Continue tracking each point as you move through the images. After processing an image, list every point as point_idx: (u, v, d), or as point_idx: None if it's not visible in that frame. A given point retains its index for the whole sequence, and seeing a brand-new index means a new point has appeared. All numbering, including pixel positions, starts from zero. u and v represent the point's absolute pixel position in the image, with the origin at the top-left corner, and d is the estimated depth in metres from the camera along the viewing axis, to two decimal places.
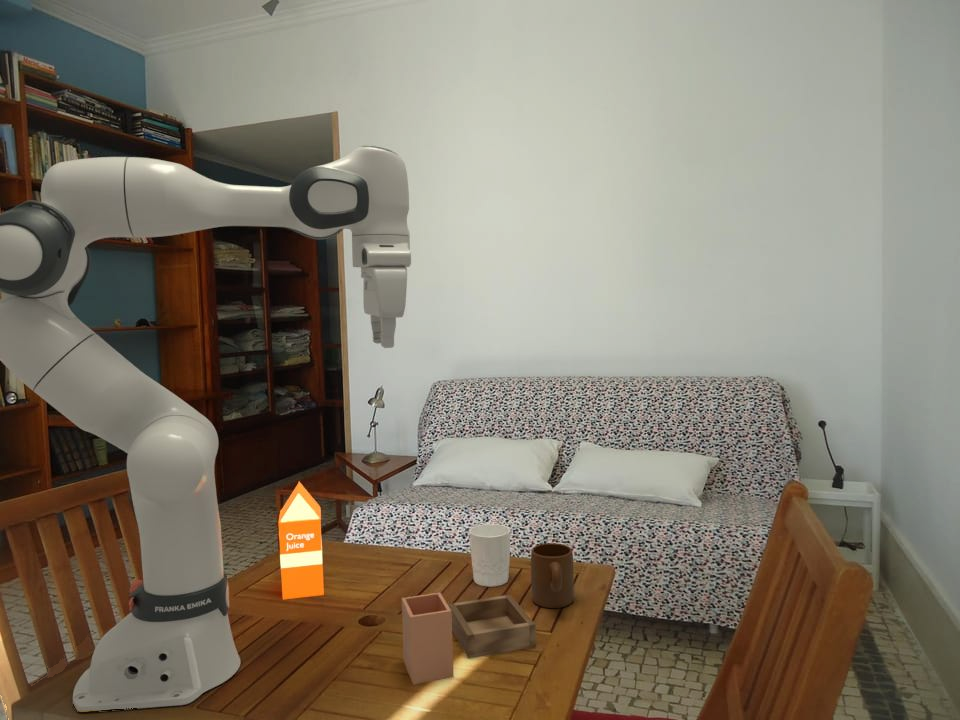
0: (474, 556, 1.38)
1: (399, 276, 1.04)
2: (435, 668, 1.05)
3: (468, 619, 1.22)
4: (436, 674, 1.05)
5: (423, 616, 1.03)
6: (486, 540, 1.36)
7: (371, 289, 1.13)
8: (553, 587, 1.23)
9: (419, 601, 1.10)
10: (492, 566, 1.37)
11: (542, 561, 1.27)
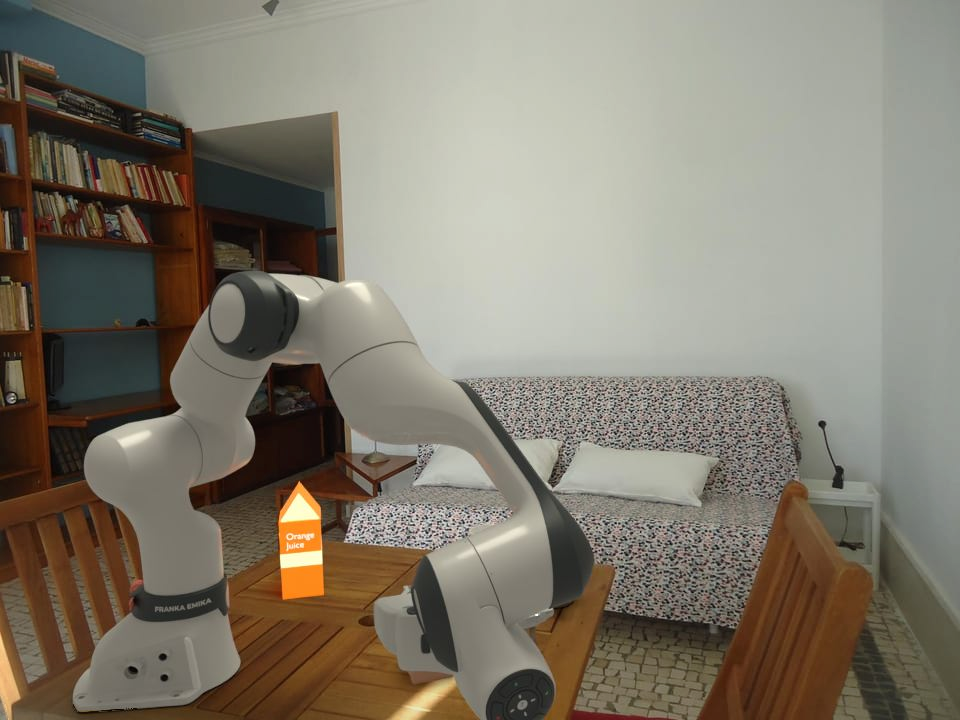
0: None
1: (386, 642, 0.82)
2: None
3: None
4: (436, 674, 1.05)
5: None
6: None
7: None
8: None
9: None
10: None
11: None
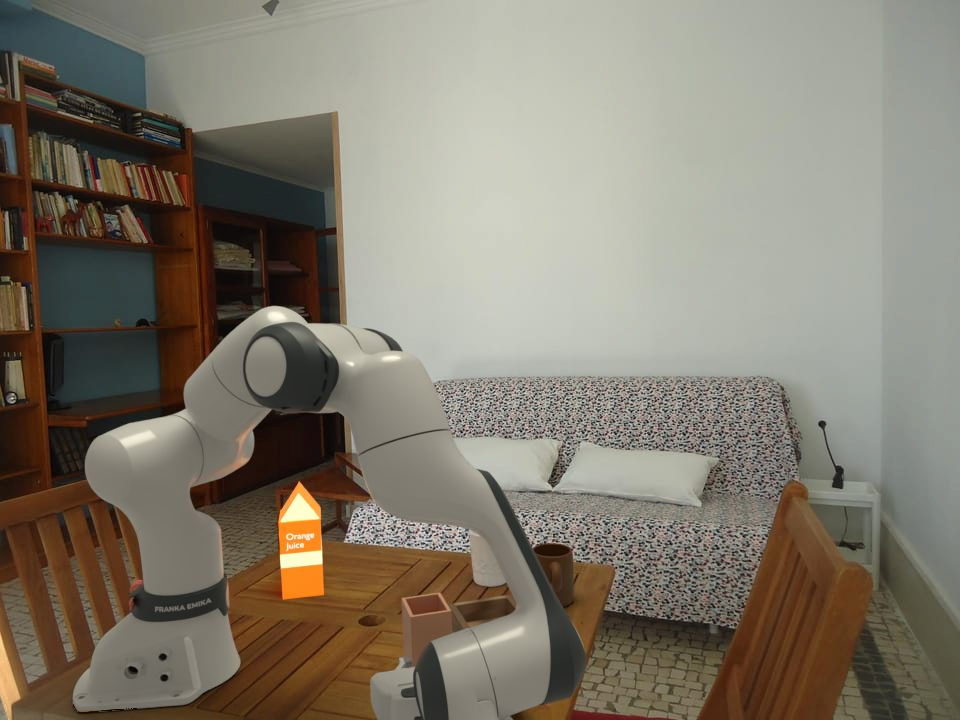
0: (474, 556, 1.38)
1: None
2: None
3: (468, 619, 1.22)
4: None
5: (423, 616, 1.03)
6: None
7: None
8: (553, 587, 1.23)
9: (419, 601, 1.10)
10: (492, 566, 1.37)
11: (542, 561, 1.27)
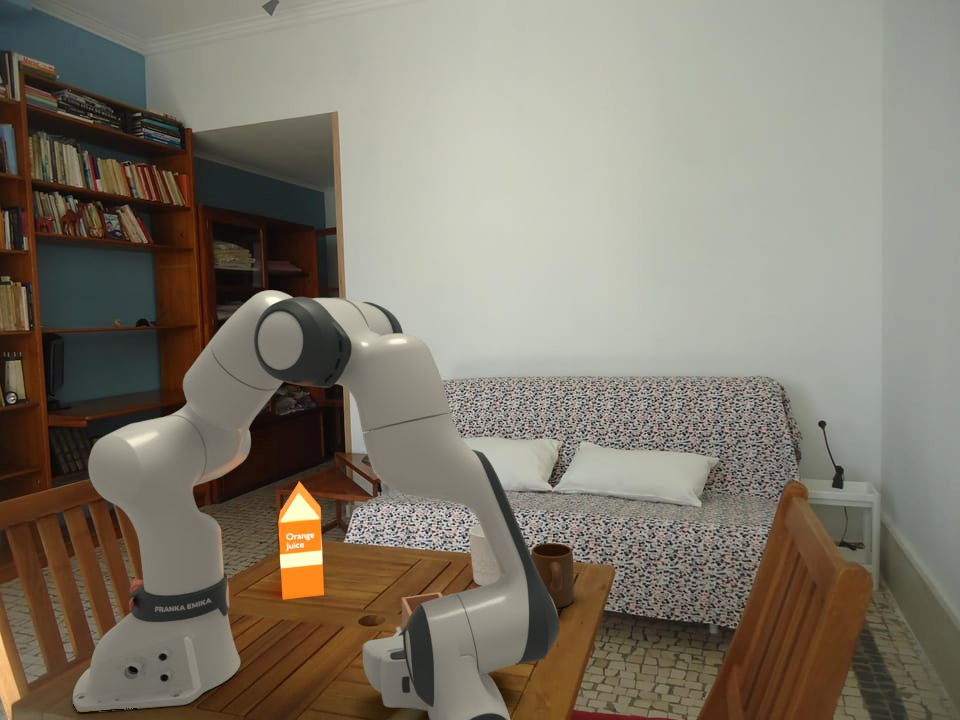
0: (474, 556, 1.38)
1: (373, 681, 0.96)
2: None
3: None
4: None
5: None
6: (486, 540, 1.36)
7: None
8: (553, 587, 1.23)
9: (419, 600, 1.10)
10: (492, 566, 1.37)
11: (542, 561, 1.27)
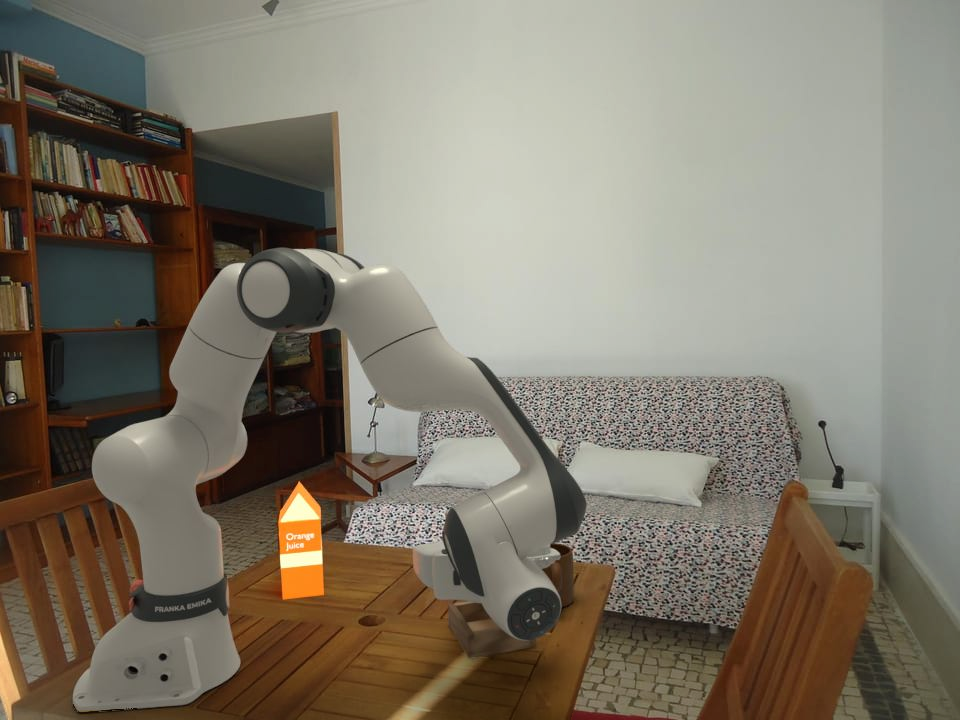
0: None
1: (424, 578, 1.01)
2: None
3: (468, 619, 1.22)
4: None
5: None
6: None
7: None
8: None
9: None
10: None
11: None
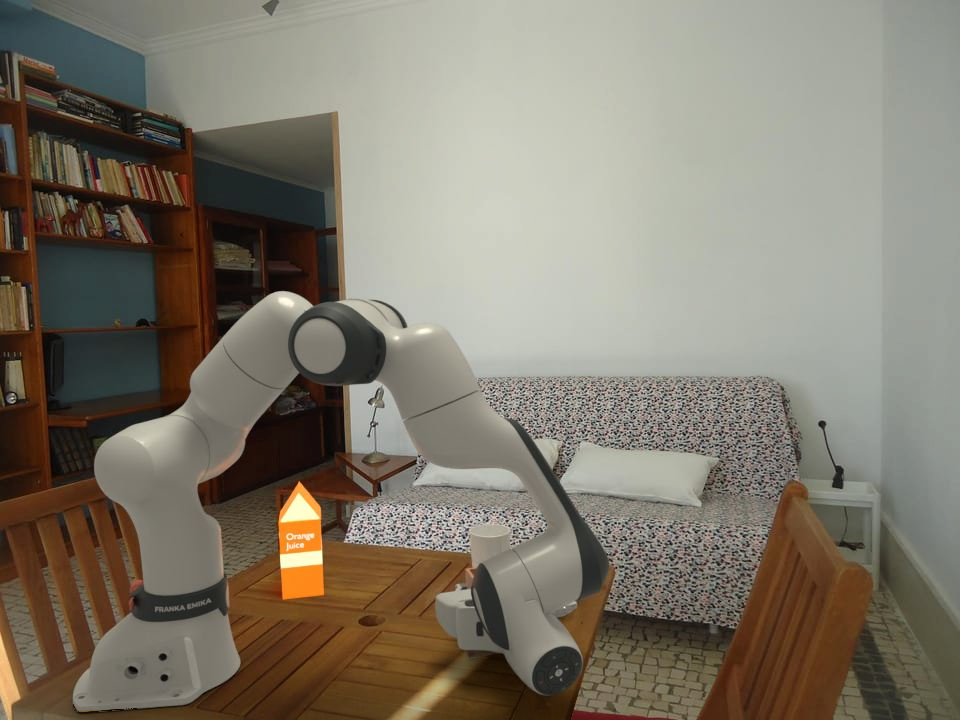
0: (474, 556, 1.38)
1: (447, 628, 1.06)
2: None
3: None
4: None
5: None
6: (486, 540, 1.36)
7: None
8: None
9: None
10: None
11: None
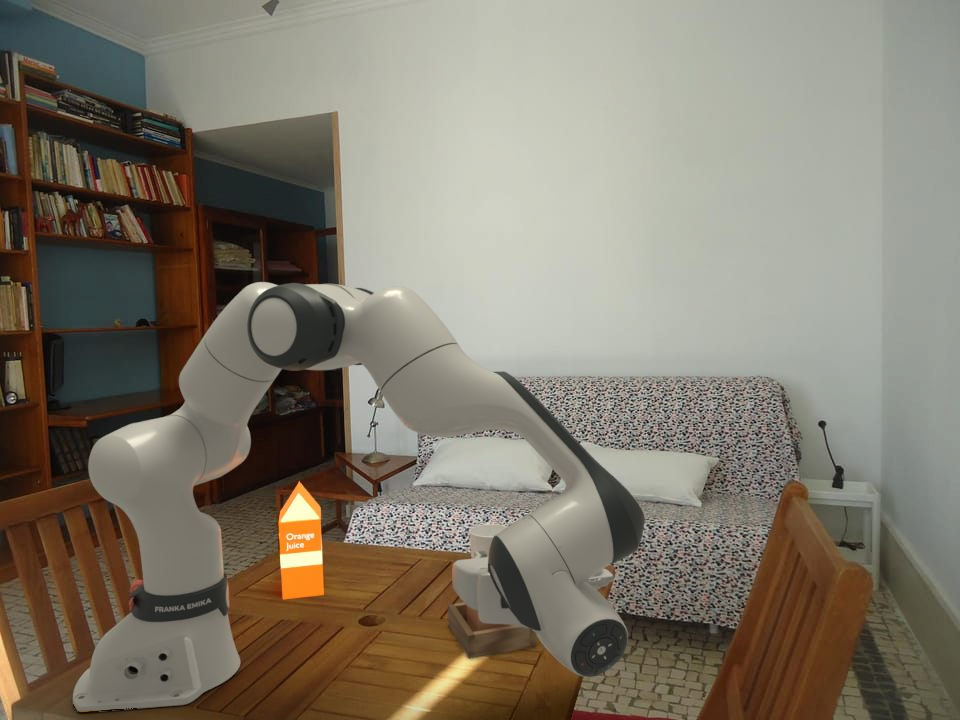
0: None
1: (466, 598, 0.93)
2: None
3: None
4: None
5: None
6: (486, 540, 1.36)
7: None
8: None
9: None
10: None
11: None
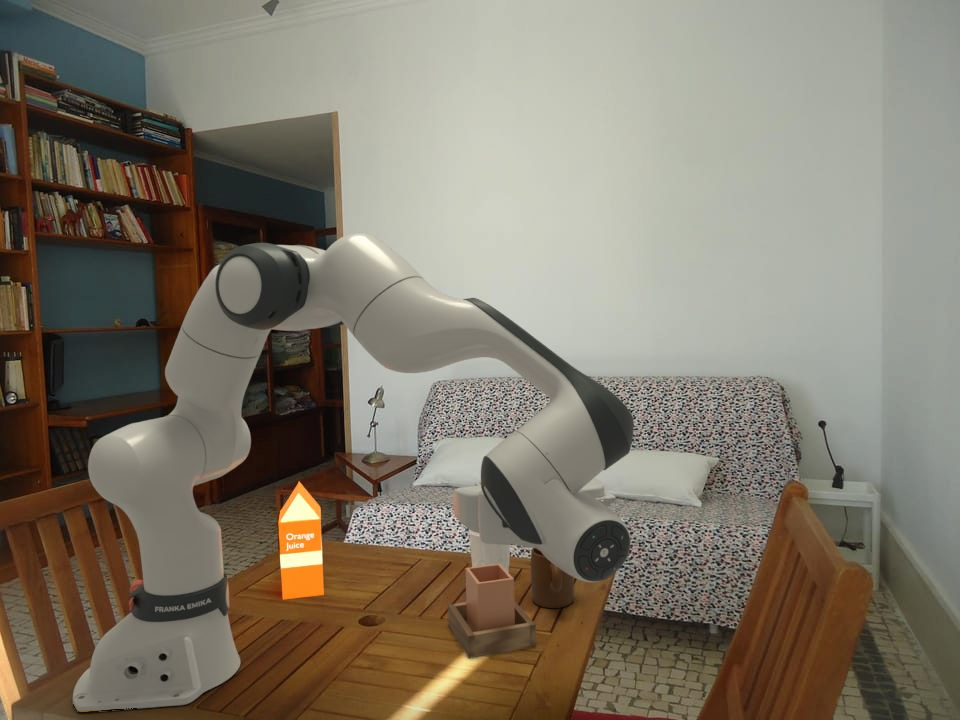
0: (474, 556, 1.38)
1: (468, 521, 0.91)
2: None
3: None
4: None
5: (489, 583, 1.14)
6: None
7: None
8: (553, 587, 1.23)
9: (482, 571, 1.20)
10: None
11: (542, 561, 1.27)
